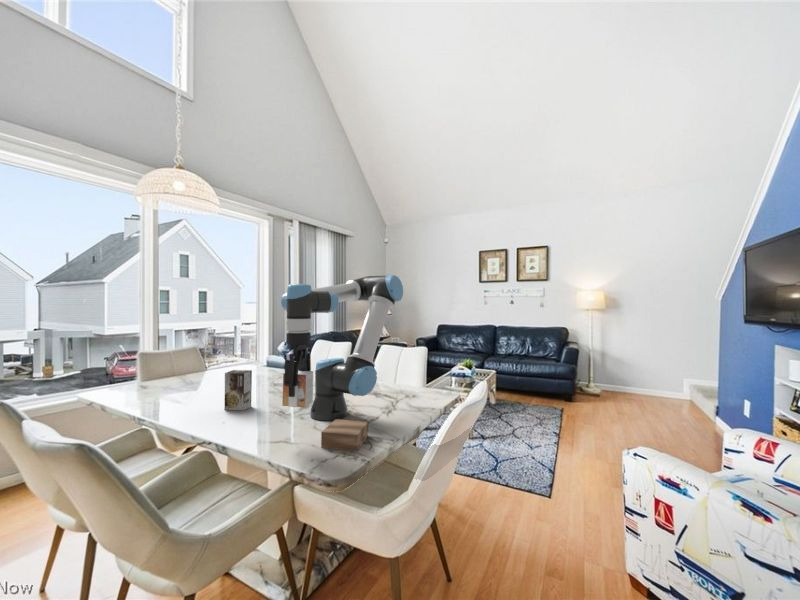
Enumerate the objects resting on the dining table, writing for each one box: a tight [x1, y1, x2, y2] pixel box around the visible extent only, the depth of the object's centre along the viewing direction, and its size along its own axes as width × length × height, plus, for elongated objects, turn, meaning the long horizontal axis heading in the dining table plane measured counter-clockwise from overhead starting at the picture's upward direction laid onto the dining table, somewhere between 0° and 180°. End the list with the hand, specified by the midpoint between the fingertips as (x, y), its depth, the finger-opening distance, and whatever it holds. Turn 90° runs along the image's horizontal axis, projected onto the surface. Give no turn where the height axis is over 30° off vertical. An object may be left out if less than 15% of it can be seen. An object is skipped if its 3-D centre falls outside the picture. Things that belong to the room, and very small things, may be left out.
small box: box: [282, 370, 314, 409], centre depth 104 cm, size 8×6×10 cm
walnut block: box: [320, 418, 369, 452], centre depth 108 cm, size 12×12×5 cm
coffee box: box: [224, 369, 253, 411], centre depth 142 cm, size 9×6×16 cm
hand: (298, 403), depth 104 cm, fingers closed on small box, 6 cm apart
